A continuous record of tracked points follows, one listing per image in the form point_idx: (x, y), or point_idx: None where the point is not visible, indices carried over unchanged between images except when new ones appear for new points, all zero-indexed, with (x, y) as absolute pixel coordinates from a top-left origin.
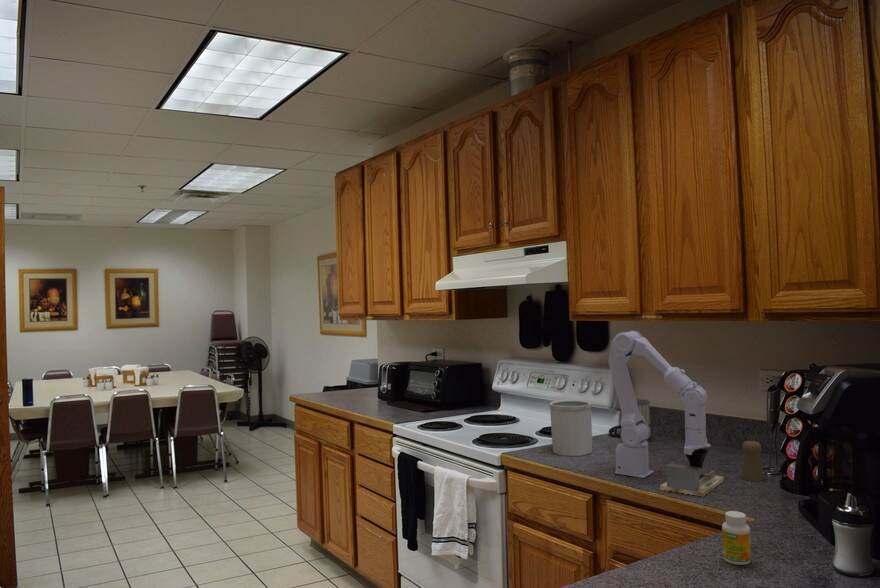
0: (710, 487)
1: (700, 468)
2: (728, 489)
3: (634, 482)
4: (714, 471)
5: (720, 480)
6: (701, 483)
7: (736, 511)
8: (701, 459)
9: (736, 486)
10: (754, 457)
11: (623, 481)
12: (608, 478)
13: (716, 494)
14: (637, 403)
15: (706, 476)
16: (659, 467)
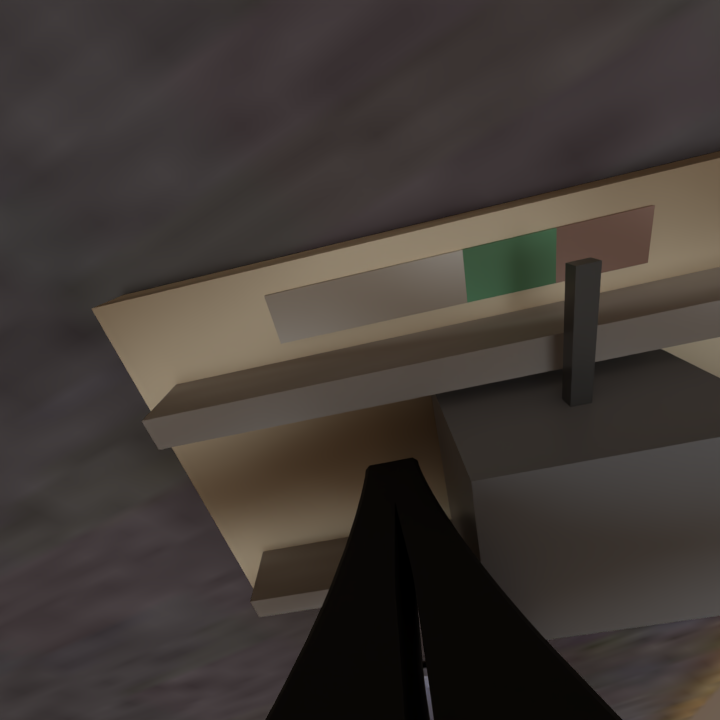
0: (667, 170)
1: (534, 495)
2: (392, 51)
3: (653, 638)
4: (162, 415)
5: (245, 270)
6: (708, 284)
7: None
8: (563, 690)
9: (181, 46)
10: None
11: (662, 668)
12: (642, 713)
13: (711, 45)
14: None
15: (589, 320)
16: (258, 693)
